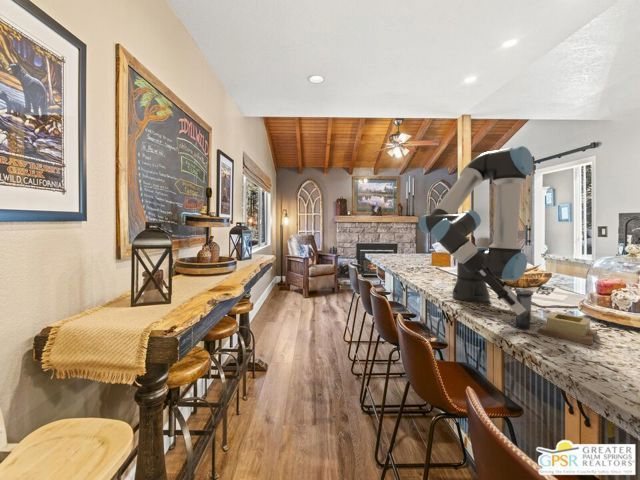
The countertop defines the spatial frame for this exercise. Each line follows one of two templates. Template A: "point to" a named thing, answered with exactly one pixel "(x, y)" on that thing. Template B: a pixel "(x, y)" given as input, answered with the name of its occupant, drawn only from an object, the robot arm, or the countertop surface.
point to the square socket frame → (568, 324)
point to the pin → (525, 301)
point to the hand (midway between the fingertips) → (519, 307)
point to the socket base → (570, 335)
